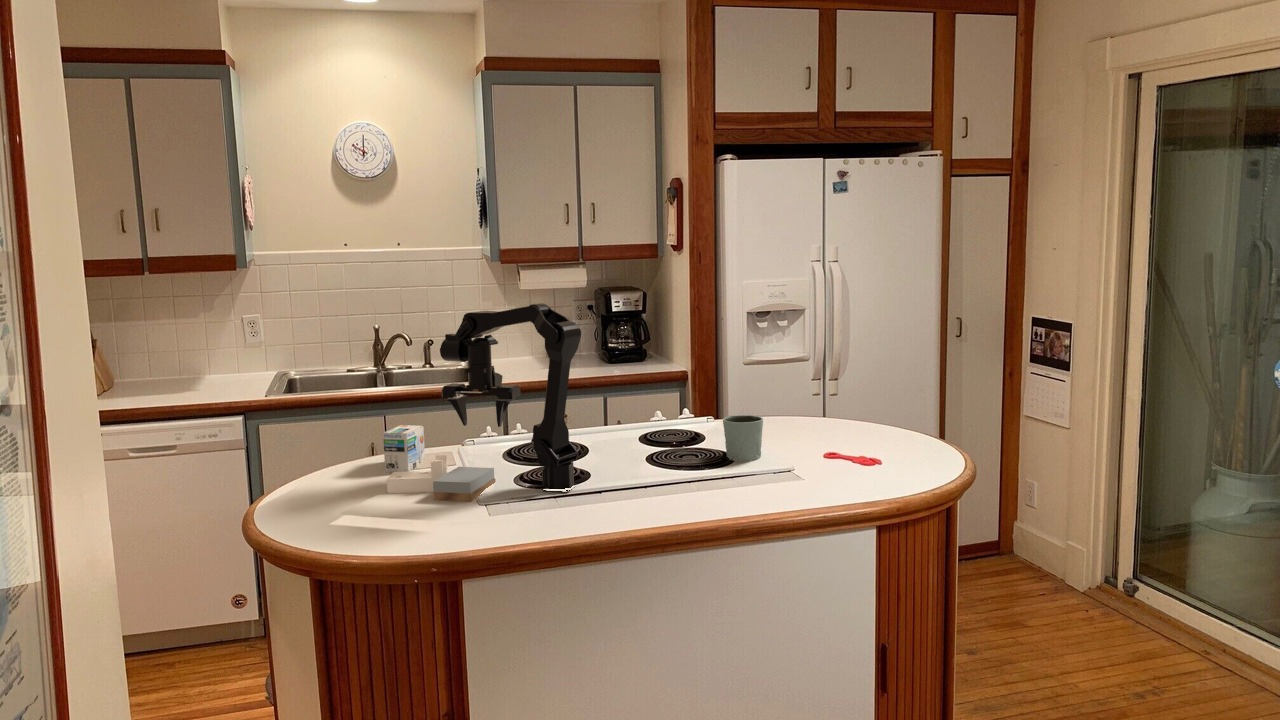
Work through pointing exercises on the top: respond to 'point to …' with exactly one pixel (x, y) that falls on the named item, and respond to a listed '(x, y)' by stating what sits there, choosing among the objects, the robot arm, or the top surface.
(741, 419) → the green cup
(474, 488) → the slate slab
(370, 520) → the top surface
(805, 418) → the top surface
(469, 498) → the walnut slab
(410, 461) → the light bulb box
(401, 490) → the bracket
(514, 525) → the top surface
